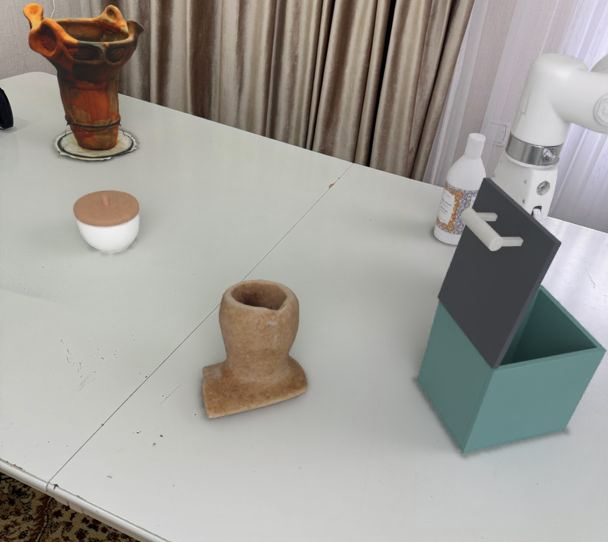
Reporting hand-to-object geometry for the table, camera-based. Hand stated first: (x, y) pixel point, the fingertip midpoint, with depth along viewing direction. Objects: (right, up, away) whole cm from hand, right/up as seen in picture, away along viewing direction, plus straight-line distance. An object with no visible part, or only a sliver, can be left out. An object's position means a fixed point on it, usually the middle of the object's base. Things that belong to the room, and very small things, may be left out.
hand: (499, 251), depth 102 cm
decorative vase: (-78, +30, +38) cm, 92 cm away
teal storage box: (-6, -24, -15) cm, 29 cm away
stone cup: (-40, -21, -15) cm, 47 cm away
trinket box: (-66, +2, +9) cm, 67 cm away
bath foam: (-4, +6, +19) cm, 20 cm away
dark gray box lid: (-11, -8, -32) cm, 35 cm away
